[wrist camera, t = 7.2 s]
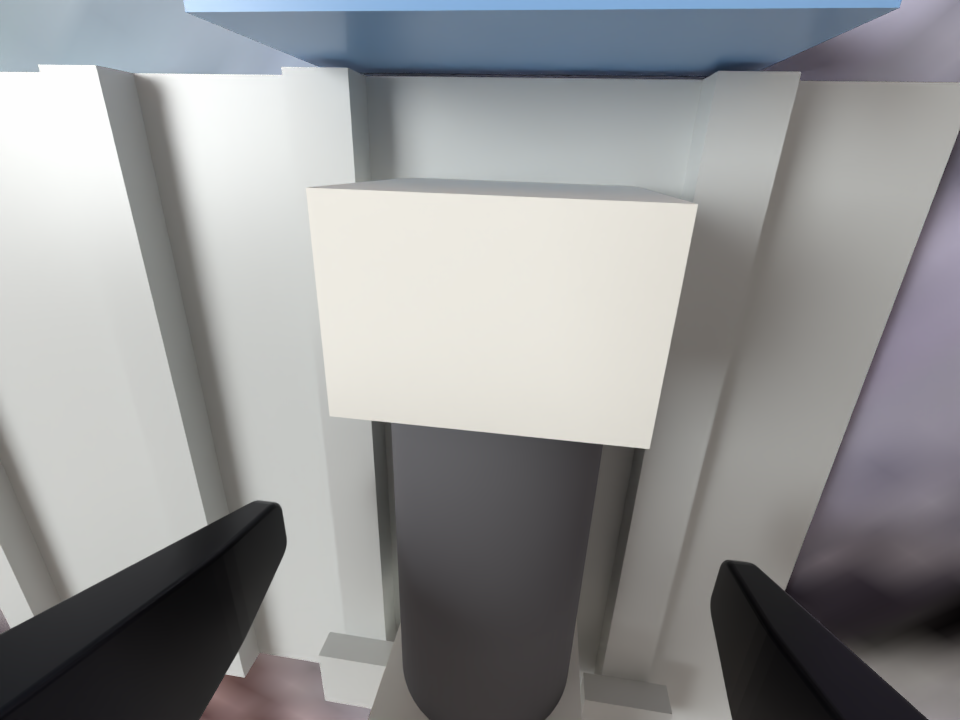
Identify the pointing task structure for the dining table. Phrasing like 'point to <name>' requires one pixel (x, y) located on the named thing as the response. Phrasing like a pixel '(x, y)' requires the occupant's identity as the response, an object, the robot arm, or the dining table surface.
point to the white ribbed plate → (445, 155)
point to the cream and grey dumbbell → (494, 408)
